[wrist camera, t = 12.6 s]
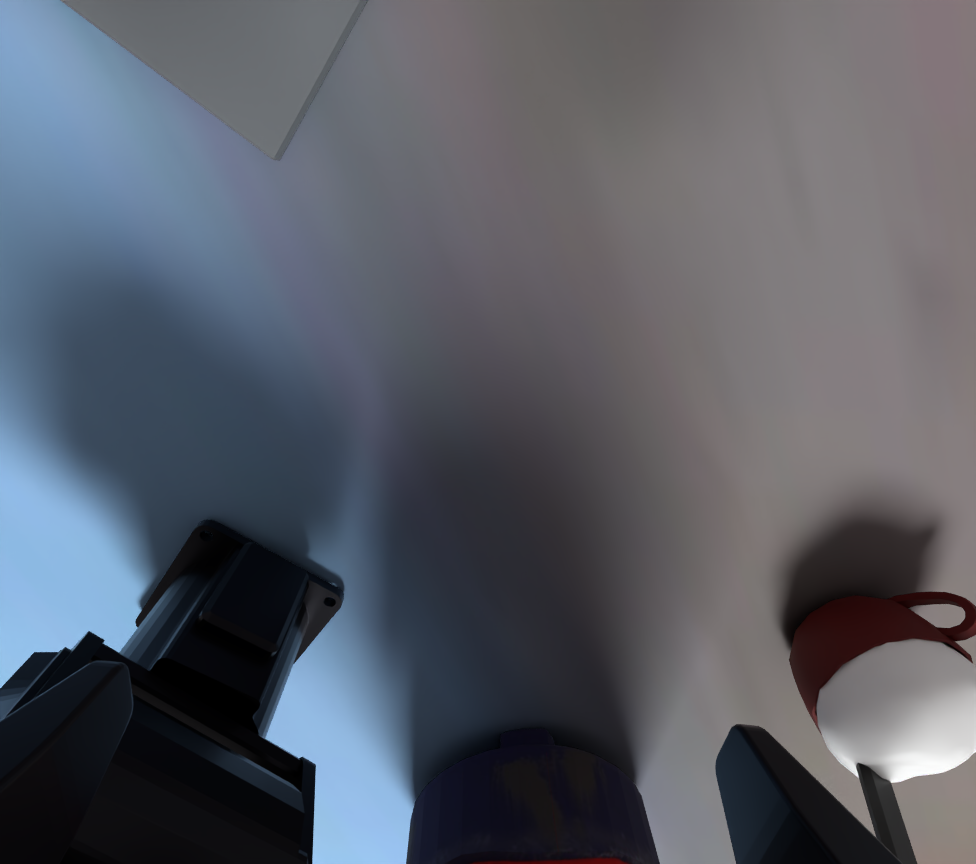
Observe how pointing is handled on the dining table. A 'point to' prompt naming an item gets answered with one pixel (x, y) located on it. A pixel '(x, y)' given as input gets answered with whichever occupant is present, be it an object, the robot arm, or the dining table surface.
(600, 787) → the red-banded navy cylinder
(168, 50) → the rubber mat
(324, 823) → the dining table surface
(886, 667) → the cocoa
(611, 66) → the dining table surface
